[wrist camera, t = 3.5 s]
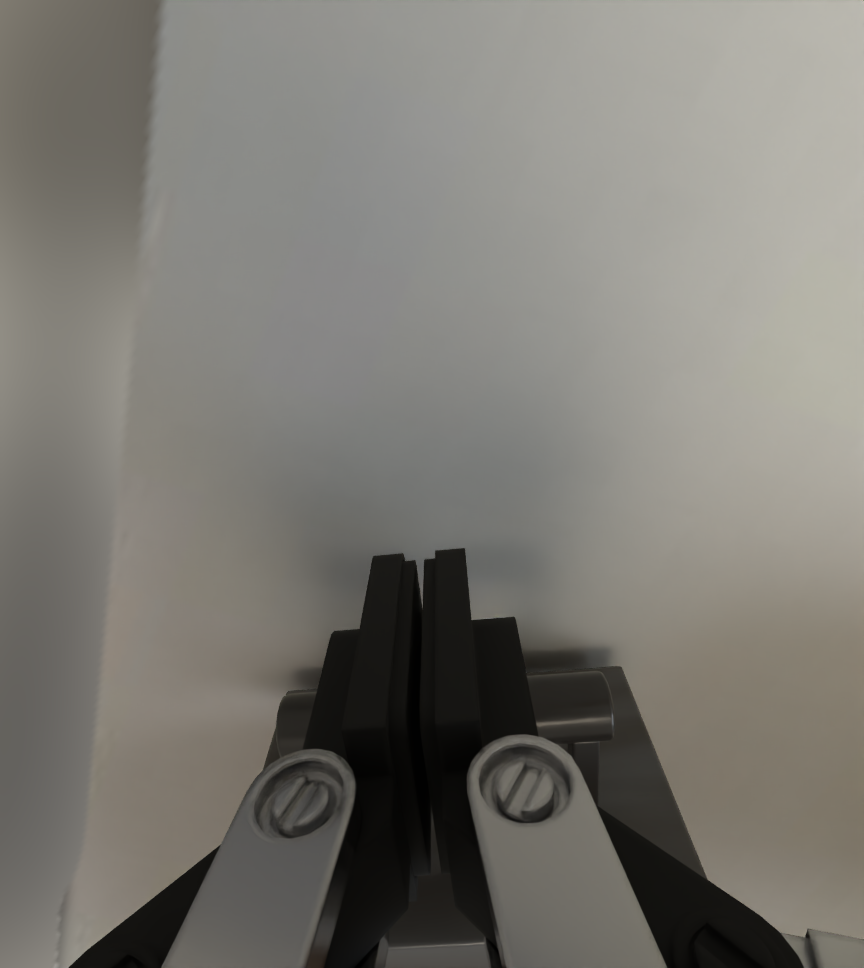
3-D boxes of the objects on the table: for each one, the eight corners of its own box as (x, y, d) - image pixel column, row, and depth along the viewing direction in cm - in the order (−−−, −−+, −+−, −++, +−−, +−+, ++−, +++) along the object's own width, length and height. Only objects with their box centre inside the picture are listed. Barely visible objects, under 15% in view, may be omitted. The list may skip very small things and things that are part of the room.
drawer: (257, 586, 17) (143, 831, 10) (626, 555, 16) (755, 792, 10) (349, 923, 24) (317, 1200, 17) (610, 909, 23) (680, 1187, 17)
